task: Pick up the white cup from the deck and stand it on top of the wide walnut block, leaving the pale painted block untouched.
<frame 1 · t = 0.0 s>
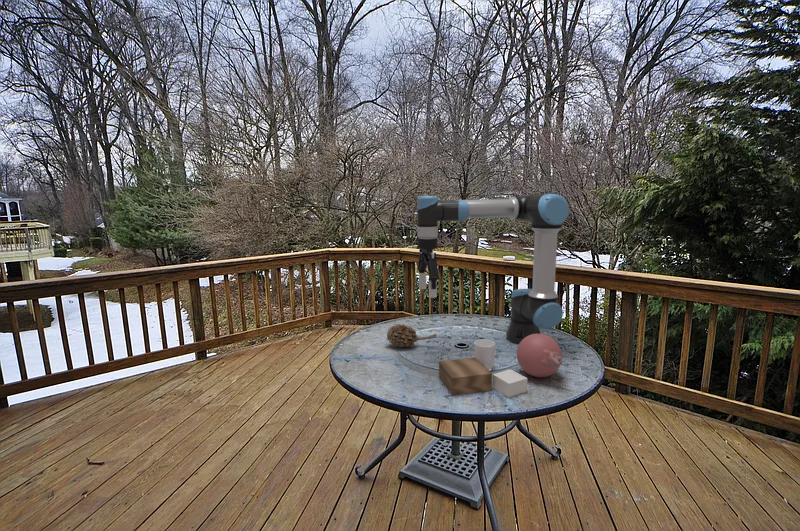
hand: (427, 293, 155), 28 cm above the table, tool pointing down, fingers open, 13 cm apart
pale block: (509, 390, 137), on the table
balloon: (541, 378, 145), on the table
white cup: (484, 368, 154), on the table
pine cone: (412, 347, 177), on the table
walnut block: (464, 383, 142), on the table
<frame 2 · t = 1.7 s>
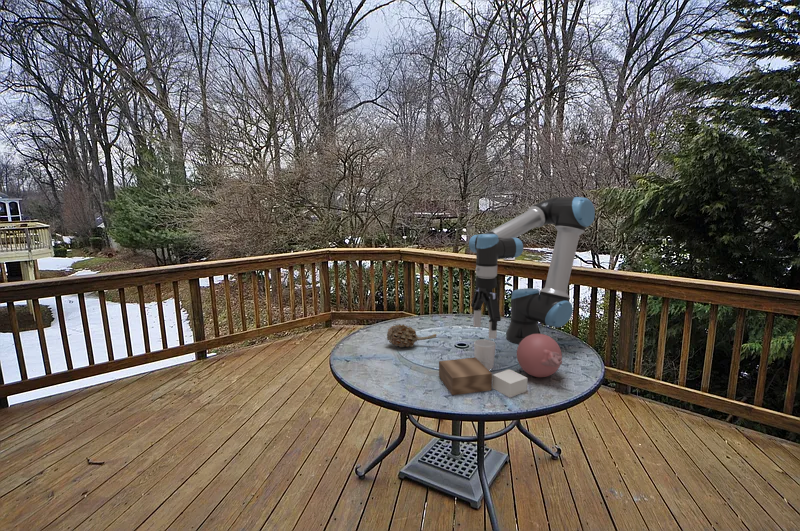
hand: (484, 332, 152), 14 cm above the table, tool pointing down, fingers open, 13 cm apart
nothing on the table moved.
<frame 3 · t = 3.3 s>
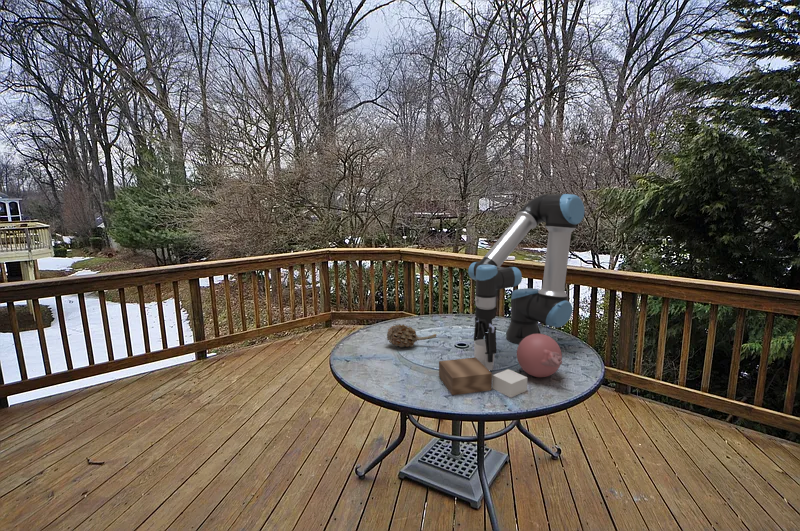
hand: (484, 364, 154), 1 cm above the table, tool pointing down, fingers closed on white cup, 8 cm apart
white cup: (484, 368, 154), on the table, touching gripper
everything else where it was.
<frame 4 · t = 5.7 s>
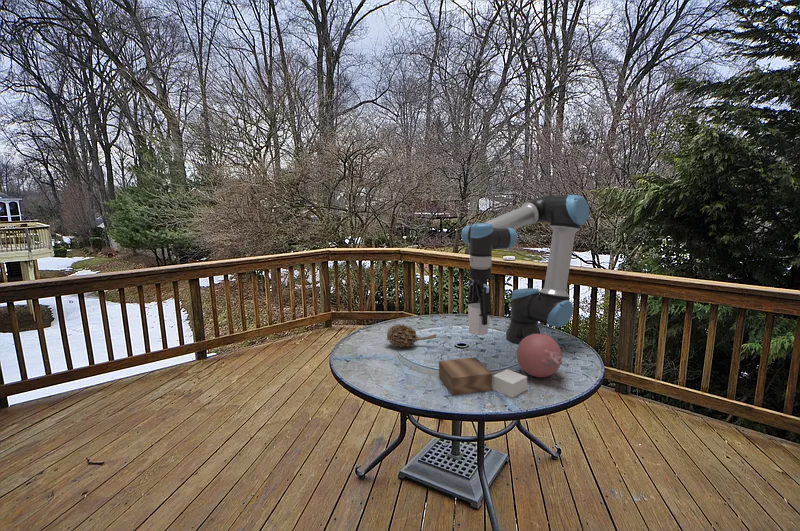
hand: (478, 329, 147), 17 cm above the table, tool pointing down, fingers closed on white cup, 8 cm apart
white cup: (478, 332, 148), point 15 cm above the table, touching gripper
everything else where it was.
when the fingers open (8 cm above the table, at t = 8.3 s): white cup stays where it is, resting on walnut block.
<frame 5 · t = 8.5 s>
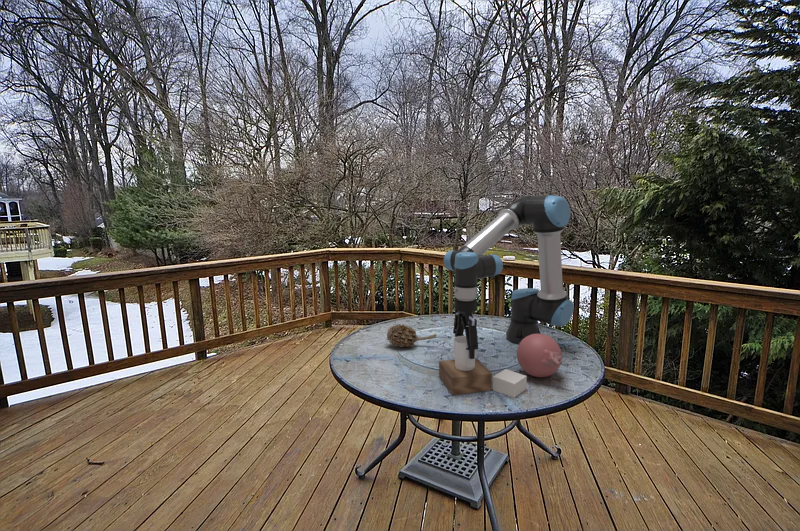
hand: (464, 360, 141), 8 cm above the table, tool pointing down, fingers open, 9 cm apart
white cup: (464, 367, 141), point 6 cm above the table, touching walnut block
everything else where it was.
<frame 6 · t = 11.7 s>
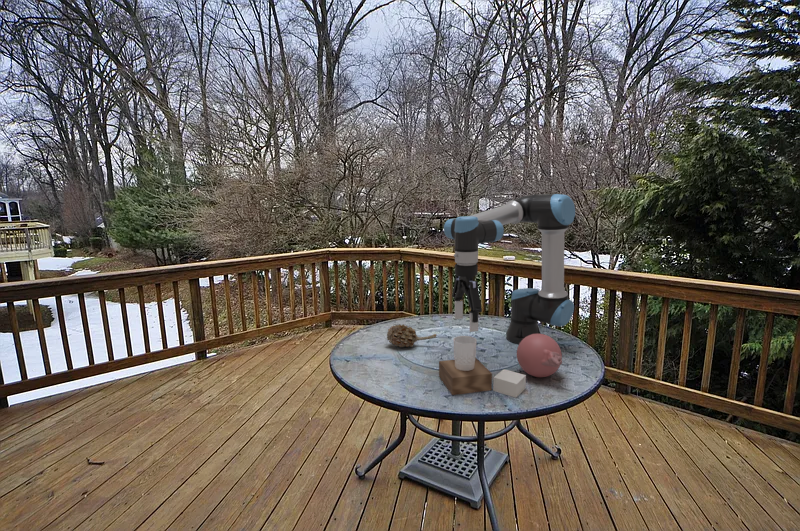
hand: (465, 324, 138), 21 cm above the table, tool pointing down, fingers open, 13 cm apart
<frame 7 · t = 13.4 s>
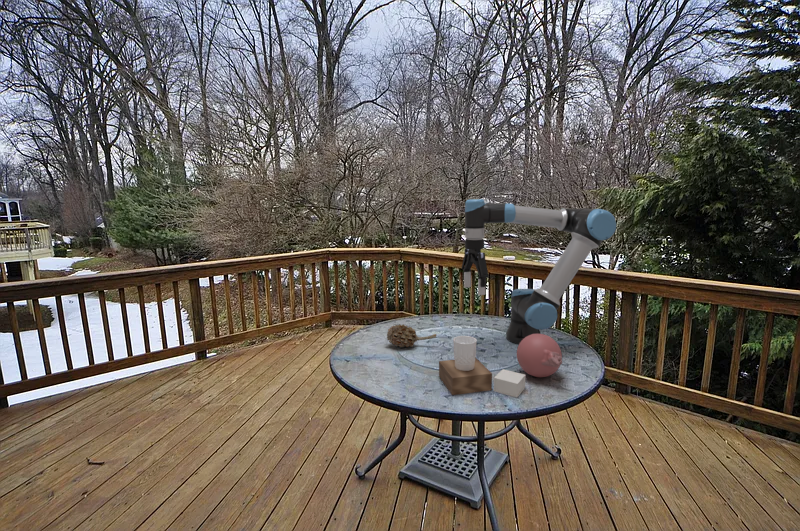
hand: (474, 290, 164), 26 cm above the table, tool pointing down, fingers open, 13 cm apart
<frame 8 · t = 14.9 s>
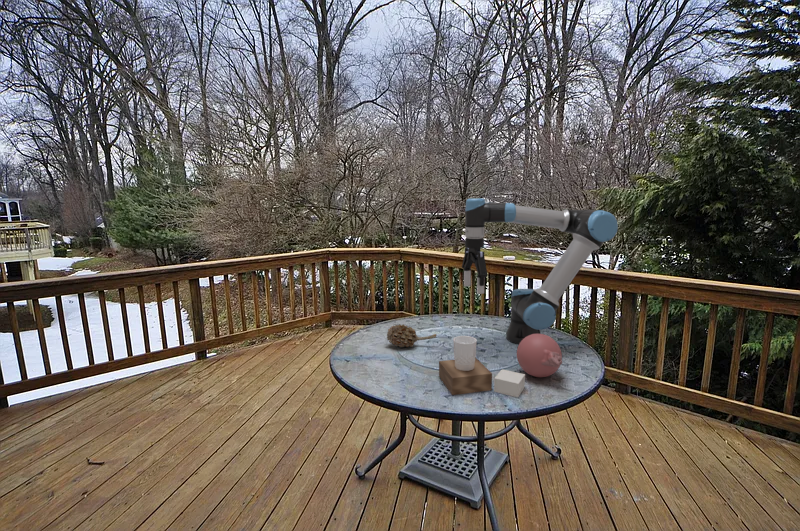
hand: (473, 289, 165), 27 cm above the table, tool pointing down, fingers open, 13 cm apart
at the end: white cup 0.1 cm from the walnut block (horizontally); white cup touching walnut block; white cup tilted 0° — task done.
